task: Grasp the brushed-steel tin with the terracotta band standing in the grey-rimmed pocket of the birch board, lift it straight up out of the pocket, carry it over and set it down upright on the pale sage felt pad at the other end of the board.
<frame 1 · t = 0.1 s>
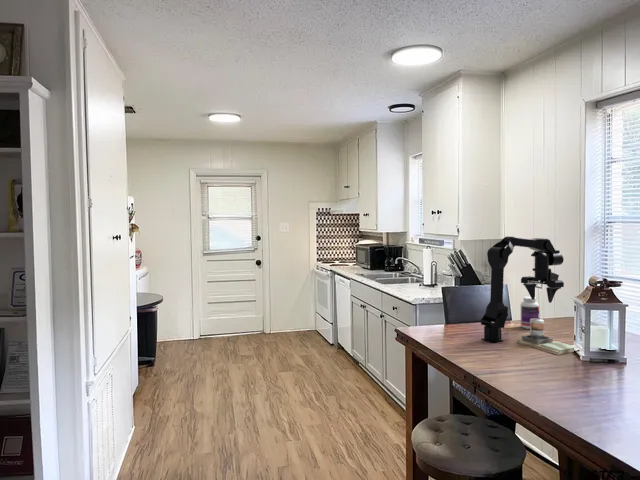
hand: (541, 301, 208), 15 cm above the table, fingers open, 9 cm apart
steel tin: (537, 343, 192), resting in pocket board
pocket board: (547, 346, 188), on the table
pill bottle: (529, 328, 219), on the table
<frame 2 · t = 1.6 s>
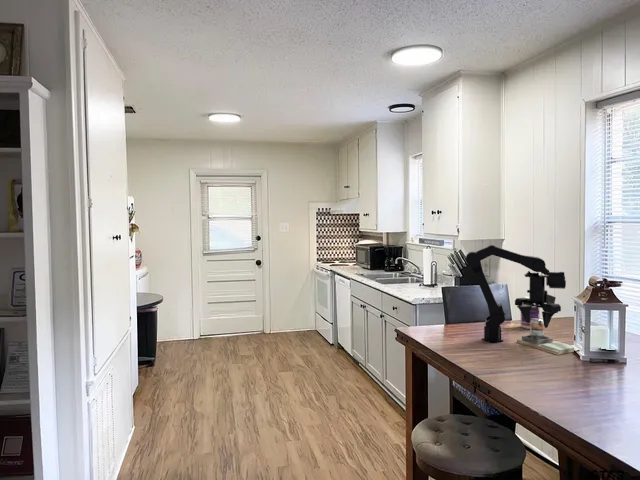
hand: (536, 325, 192), 8 cm above the table, fingers open, 9 cm apart
nothing on the table moved.
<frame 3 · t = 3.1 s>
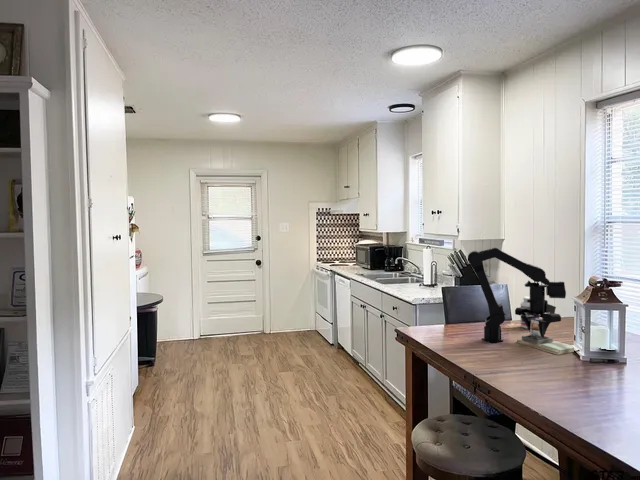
hand: (537, 335, 192), 4 cm above the table, fingers closed on steel tin, 5 cm apart
steel tin: (537, 343, 192), resting in pocket board, touching gripper
everything else where it was.
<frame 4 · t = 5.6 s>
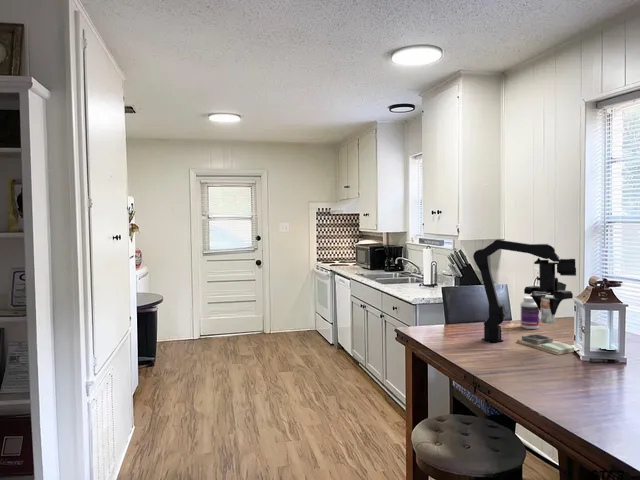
hand: (547, 313, 187), 13 cm above the table, fingers closed on steel tin, 5 cm apart
steel tin: (547, 322, 187), point 10 cm above the table, touching gripper
everything else where it was.
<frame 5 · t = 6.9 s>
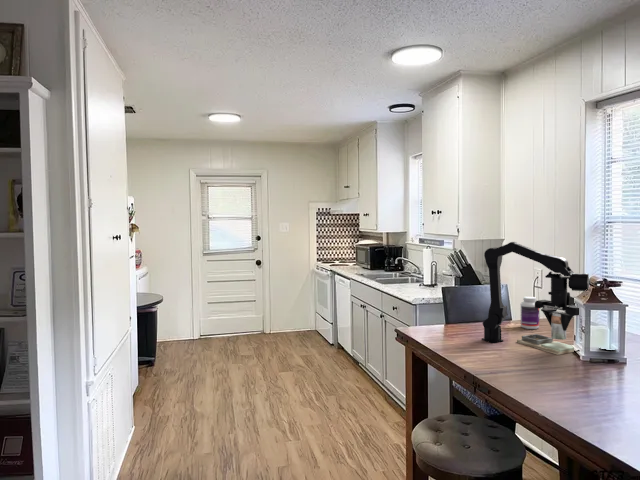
hand: (558, 329, 182), 8 cm above the table, fingers closed on steel tin, 5 cm apart
steel tin: (558, 337, 183), point 5 cm above the table, touching gripper
everything else where it was.
when the fingers open (6 cm above the table, at t = 8.1 s): steel tin drops 1 cm, resting on pocket board.
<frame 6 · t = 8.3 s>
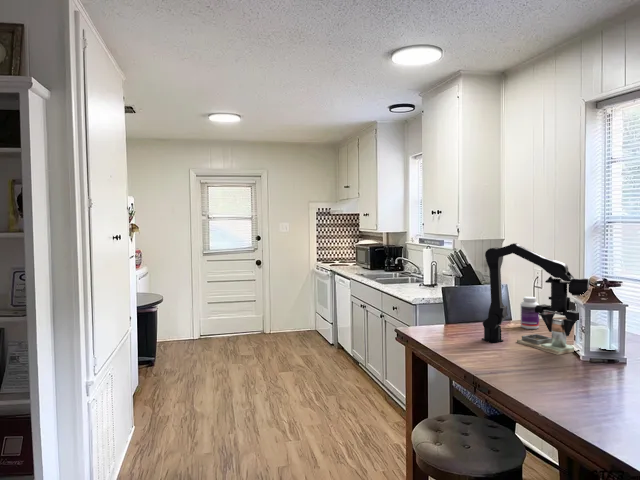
hand: (558, 333, 182), 6 cm above the table, fingers open, 7 cm apart
steel tin: (558, 345, 183), point 2 cm above the table, touching pocket board
everything else where it was.
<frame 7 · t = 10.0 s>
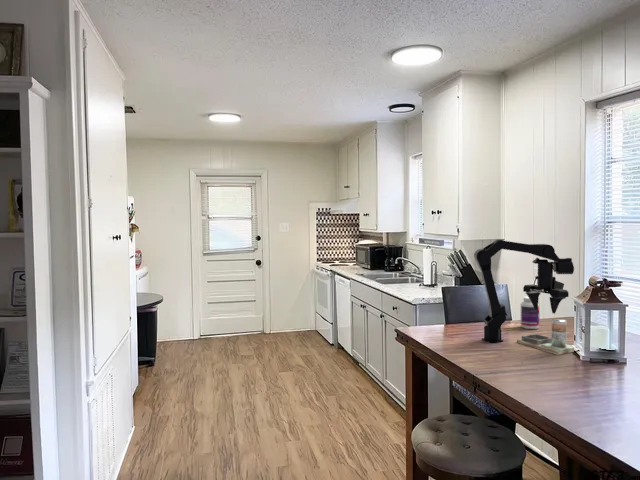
hand: (544, 311, 194), 13 cm above the table, fingers open, 9 cm apart
nothing on the table moved.
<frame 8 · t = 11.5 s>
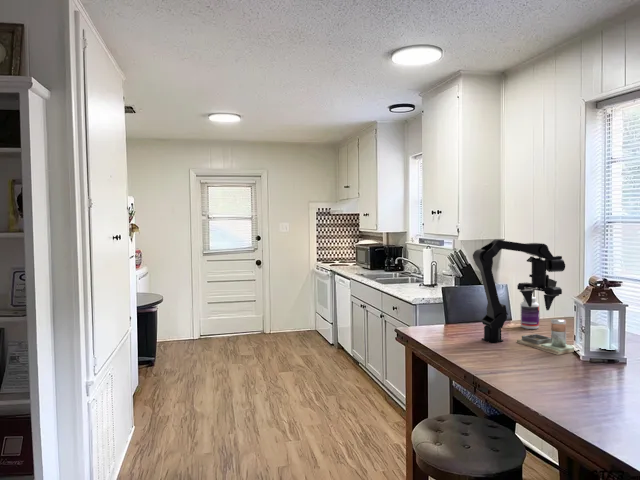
hand: (538, 308, 199), 13 cm above the table, fingers open, 9 cm apart
nothing on the table moved.
at the end: steel tin inside the target area (0.1 cm from its centre), point 1.7 cm above the table; steel tin tilted 1°; the gripper is holding nothing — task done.
